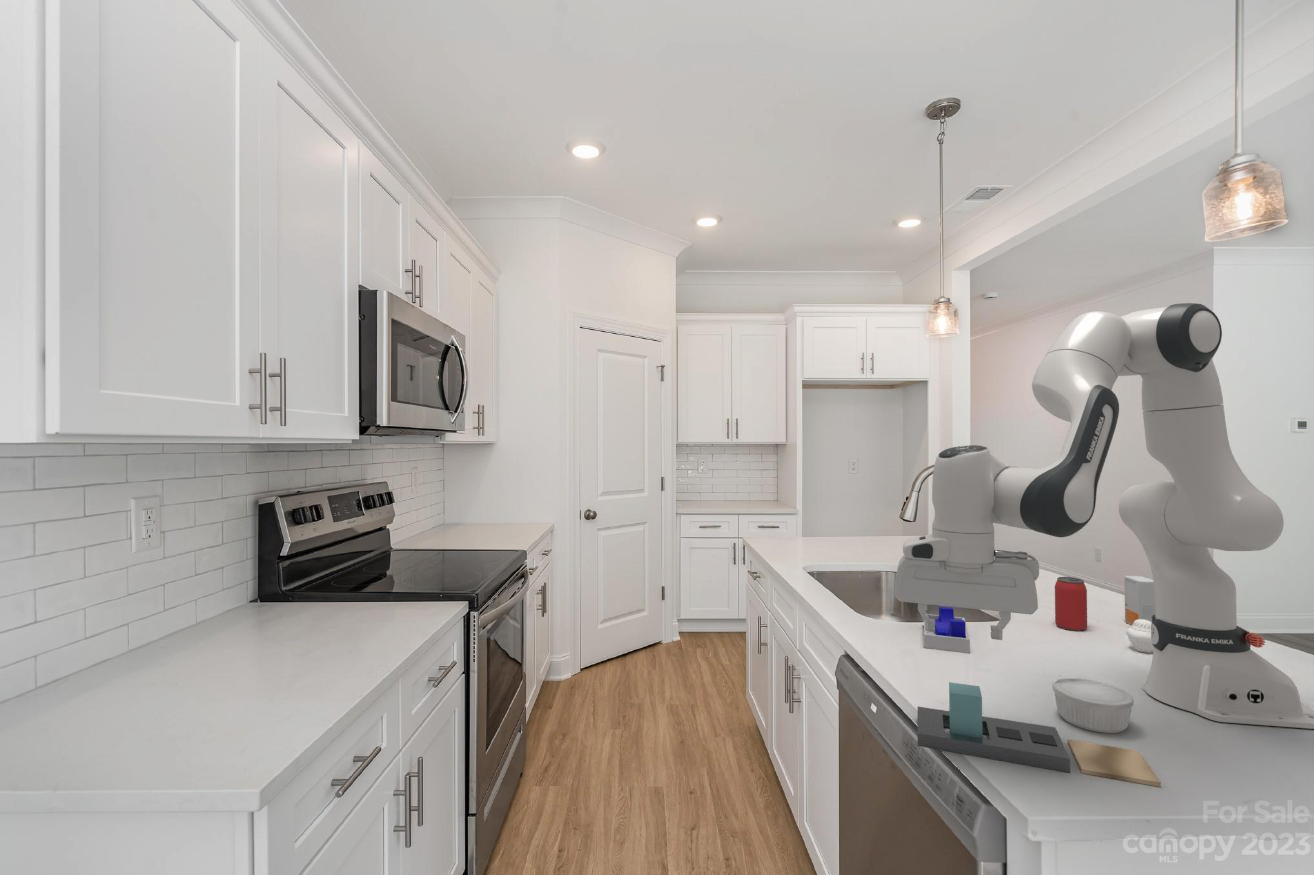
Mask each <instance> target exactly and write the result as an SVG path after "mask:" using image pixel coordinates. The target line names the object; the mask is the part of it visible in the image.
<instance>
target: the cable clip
mask: <svg viewBox="0 0 1314 875" xmlns="http://www.w3.org/2000/svg"><path fill="white" fill-rule="evenodd" d="M938 615H939V619H935V632H933V633H934V635H940V636H949V637H958V638H966V628H965V622H966V620H965V621H964V620H954V617H955V616H954V615H955V614H954V607H951V606H938Z"/></svg>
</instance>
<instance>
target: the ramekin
mask: <svg viewBox="0 0 1314 875" xmlns="http://www.w3.org/2000/svg"><path fill="white" fill-rule="evenodd" d="M1051 687H1052V691H1053V692H1054V697H1055V699H1054V700H1055V703H1056V709H1057V712H1058V713H1059V715H1060V717H1062V719H1064V721H1066V722H1067V721H1068V722H1067V723H1069V724H1071V725H1073V726H1075V727H1078V728H1081V729H1084V730H1086V731H1087V730H1088V731H1091V732H1096V733H1104V734H1116V733H1117V734H1119V733H1121V732H1123V731H1125V730H1126V729H1127V728H1128V726H1129V724H1130V719H1131V714H1132V713H1131V712H1132V707H1134V704H1135V702H1134V696H1132V694H1131V693H1129V692H1128V691H1126V690H1125V689H1122V688H1121V687H1119V686H1116V685H1113V684H1109V683H1106V682H1103V681H1098V680H1094V679H1088V678H1082V677H1081V678H1080V677H1062V678H1057V679H1055V680H1054V681H1052V686H1051Z"/></svg>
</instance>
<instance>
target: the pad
mask: <svg viewBox="0 0 1314 875" xmlns="http://www.w3.org/2000/svg"><path fill="white" fill-rule="evenodd" d="M1066 742H1067V746H1068V747H1069V749H1070V752H1071V753H1072V756H1073V758H1074V760H1075V762H1076V764H1077V766H1078V768H1079V770H1080V772H1081V774H1085V775H1091V776H1095V777H1101V778H1102V777H1103V778H1108V779H1114V780H1119V781H1124V782H1130V783H1134V784H1135V783H1137V784H1142V785H1147V786H1152V787H1153V786H1154V787H1159V788H1161V787H1162V784H1161V781H1160V780H1159V778H1158V777H1157V775H1156V773H1155V772H1154V771H1153V769H1152V767H1150V765H1149V764H1148V762H1147V760H1146V759H1145V758H1144V756H1143V754H1141V752H1140V751H1139V750H1137V749H1130V748H1124V747H1118V746H1110V745H1105V744H1100V743H1099V744H1098V743H1093V742H1084V741H1080V740H1074V739H1073V740H1072V739H1067V741H1066Z"/></svg>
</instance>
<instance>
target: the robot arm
mask: <svg viewBox="0 0 1314 875" xmlns="http://www.w3.org/2000/svg"><path fill="white" fill-rule="evenodd" d="M1222 330H1223V329H1222V325H1221V322H1220V319H1219V318H1218V316H1217V315H1216V313H1215V312H1213V311H1212V310H1211V309H1210V308H1209V307H1207V306H1206V305H1204V304H1202V303H1194V302H1189V303H1188V302H1187V303H1186V302H1184V303H1173V304H1171V305H1169V306H1162V307H1154V308H1147V309H1141V310H1137V311H1136V310H1135V311H1132V312H1129V313H1128V314H1124V315H1121V316H1119V315H1117V314H1115V313H1113V312H1107V311H1102V310H1097V311H1096V310H1095V311H1088V312H1084V313H1083V314H1082V313H1081V314H1080V315H1079V316H1077V317H1075V318H1074V319H1073V320H1072V321H1071V322H1070V323H1069V324H1067V326H1066V327H1065V328H1064V329H1063V331H1062V332H1061V333H1060V334H1059V335H1058V337H1057V338H1056V339H1055V340H1054V342H1053V343H1052V344H1051V346H1050V347H1049V348H1048V350H1047V351H1046V353H1045V355H1044V357H1043V358H1042V360H1041V362H1040V364H1039V365H1038V366H1037V368H1036V370H1035V373H1034V376H1033V378H1032V382H1031V388H1032V392H1033V395H1034V398H1035V401H1036V402H1037V403H1038V404H1039V405H1040V406H1041V407H1042V408H1043V409H1044V410H1045V411H1047V413H1049V414H1051V415H1053V416H1054V417H1056V418H1057V419H1060V420H1062V421H1066V422H1068V423H1070V425H1069V429H1068V431H1067V433H1066V434H1067V435H1066V437H1065V440H1064V443H1063V446H1062V447H1061V451H1060V453H1059V457H1058V459H1057V460H1056V461H1055V462H1054V463H1052V464H1049V465H1048V466H1044V467H1040V468H1039V467H1037V468H1036V467H1025V466H1024V467H1023V466H1021V467H1019V466H1011V464H1009V463H1006V462H1004V461H1002V460H999V459H998V458H997V457H995V456H994V455H993V454H991V452H990V449H989V448H988V447H986V446H983V445H973V444H972V445H971V444H970V445H961V446H960V445H959V446H954V447H950V448H945V449H944V450H942V451H940V452H939V453H938V454H937V456H936V459H935V461H934V466H933V469H932V470H933V472H932V484H931V488H932V490H931V493H932V494H931V502H932V505H933V508H934V517H933V521H932V525H931V534H930V533H929V534H926V535H922V536H917V537H914V538H908V539H907V540H904V543H903V545H902V553H903V555H902V556H901V558H900V560H899V561H898V565H897V569H896V575H895V584H894V596H895V598H896V599H897V600H898V602H902V603H913V604H917V611H918V612H919V614H920V615H921V617H922V619H923V622H924V621H925V631H927V633H928V632H931V633H934V632H935V619H930V618H929V617H928V615H927V614H928V613H927V611H928V605H933V606H934V605H935V606H940V607H952V608H964V609H971V610H984V611H993V612H998V615H999V617H1000V619H999V621H998V622H997V624H996V625H994V624H993V625H991V624H990V638H991V639H992V640H997V641H1003V638H1004V637H1003V630H1004V629H1005V628H1007V626H1008V624H1010V621H1011V619H1012V614H1021V615H1033V614H1034V613H1035V612H1036V611H1038V609H1039V602H1038V593H1037V586H1036V581H1037V580H1038V578H1039V576H1040V563H1039V561H1038V560H1037V559H1036V557H1034V556H1033V555H1031V554H1028V552H1026V551H1012V550H1011V551H1010V550H1000V549H995V526H994V524H999V525H1003V526H1004V525H1005V526H1008V527H1012V528H1019V529H1022V530H1023V529H1024V530H1025V529H1026V530H1029V531H1030V530H1031V531H1034V532H1037V533H1041V534H1044V535H1048V536H1051V537H1056V538H1067V537H1070V536H1072V535H1074V534H1076V533H1078V532H1080V530H1082V529H1083V528H1085V526H1086V525H1087V524H1088V523H1089V522H1090V521H1091V520H1092V518H1093V516H1094V514H1095V509H1096V503H1097V493H1098V492H1097V491H1098V485H1099V480H1100V477H1101V474H1102V472H1103V468H1104V466H1105V462H1106V459H1107V457H1108V453H1109V450H1110V447H1111V443H1112V441H1113V438H1114V434H1115V432H1116V427H1117V424H1118V420H1119V416H1120V415H1119V414H1120V403H1119V399H1118V397H1117V395H1116V393H1114V391H1112V389H1113V387H1114V385H1115V383H1116V381H1117V379H1118V377H1125V376H1129V377H1130V376H1140V377H1141V378H1142V379H1141V380H1142V382H1141V405H1142V406H1141V407H1142V408H1141V409H1142V418H1143V427H1144V428H1143V429H1144V438H1145V445H1146V450H1147V452H1148V454H1149V455H1150V457H1152V458H1153V459H1154V460H1156V461H1157V462H1159V463H1160V464H1162V465H1163V466H1164V467H1165V469H1166V470H1167V471H1168V473H1169V474H1170V476H1171V478H1172V479H1173V482H1172V481H1151V482H1144V483H1138V484H1133V485H1132V486H1130V487H1128V488H1127V489H1125V491H1124V492H1123V493H1122V495H1121V497H1120V499H1119V502H1118V514H1119V517H1120V519H1121V521H1122V523H1123V524H1125V526H1127V527H1128V528H1129V529H1130V530H1131V531H1132V532H1133V534H1134V535H1135V536H1136V538H1137V540H1139V542H1140V545H1141V547H1142V548H1143V551H1144V552H1145V555H1146V558H1147V560H1148V563H1149V566H1150V569H1151V574H1152V580H1153V582H1154V602H1155V614H1154V615H1152V624H1151V640H1152V645H1153V646H1154V650H1153V653H1152V659H1151V664H1150V670H1149V673H1148V677H1147V680H1146V683H1145V685H1144V688H1143V689H1144V691H1145V692H1146V693H1147V694H1148V695H1149V696H1151V697H1152V698H1154V699H1156V700H1157V701H1159V702H1162V703H1164V704H1167V705H1170V706H1172V707H1176V708H1178V709H1181V710H1184V711H1188V712H1191V713H1194V714H1196V715H1198V716H1201V717H1203V718H1206V719H1209V720H1211V721H1215V722H1219V723H1227V724H1228V723H1231V724H1243V725H1245V724H1246V725H1258V726H1271V727H1282V728H1283V727H1284V728H1298V729H1299V728H1300V729H1311V730H1314V710H1313V709H1312V708H1310V707H1309V706H1307V705H1305V703H1303V702H1302V701H1301V700H1302V699H1301V696H1300V694H1299V690H1298V687H1297V685H1296V683H1294V681H1293V680H1292V678H1291V677H1290V676H1288V674H1286V673H1285V672H1284V671H1283V670H1281V669H1279V668H1278V667H1277V666H1275V665H1274V664H1273V663H1271V662H1270V661H1268V659H1265V658H1264V657H1263V656H1261V655H1260V654H1258V653H1257V652H1256V651H1255V650H1252V649H1251V646H1253V647H1254V648H1257V649H1258V648H1263V647H1264V646H1265V645H1266V640H1265V639H1264V638H1263V636H1261V635H1259V634H1257V633H1255V632H1250V631H1248V630H1246V629H1244V628H1242V627H1241V626H1238V625H1237V624H1238V623H1237V622H1238V621H1237V587H1236V586H1237V585H1236V583H1235V581H1234V580H1233V579H1232V577H1231V576H1230V575H1229V574H1228V573H1227V572H1226V571H1224V570H1223V569H1222V568H1221V567H1220V566H1218V564H1217V563H1216V561H1215V560H1214V558H1213V557H1212V555H1211V553H1210V550H1209V549H1214V550H1219V551H1224V552H1251V551H1252V552H1255V551H1256V552H1257V551H1259V552H1260V551H1264V550H1266V549H1268V548H1270V547H1272V546H1273V544H1275V543H1276V542H1277V541H1278V540H1279V539H1280V536H1281V535H1282V533H1283V529H1284V526H1285V524H1284V521H1285V520H1284V516H1283V512H1282V510H1281V508H1280V506H1279V505H1278V504H1277V502H1276V501H1275V500H1274V499H1272V498H1271V497H1270V496H1268V495H1266V494H1265V493H1264V492H1262V491H1261V490H1260V489H1258V488H1257V487H1256V486H1255V485H1254V484H1253V483H1252V482H1251V480H1249V478H1248V477H1247V475H1245V474H1244V472H1243V471H1242V470H1243V469H1241V467H1240V466H1239V464H1238V462H1237V460H1236V459H1235V456H1234V454H1233V452H1232V449H1231V446H1230V441H1229V436H1228V431H1227V430H1228V428H1227V423H1226V416H1225V415H1226V414H1225V406H1224V396H1223V391H1222V386H1221V383H1220V378H1219V375H1218V372H1217V369H1216V365H1215V364H1214V360H1213V359H1212V358H1214V357H1215V355H1216V354H1217V352H1218V349H1219V347H1220V344H1221V342H1222V338H1223V331H1222ZM1028 558H1029V559H1028Z"/></svg>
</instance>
